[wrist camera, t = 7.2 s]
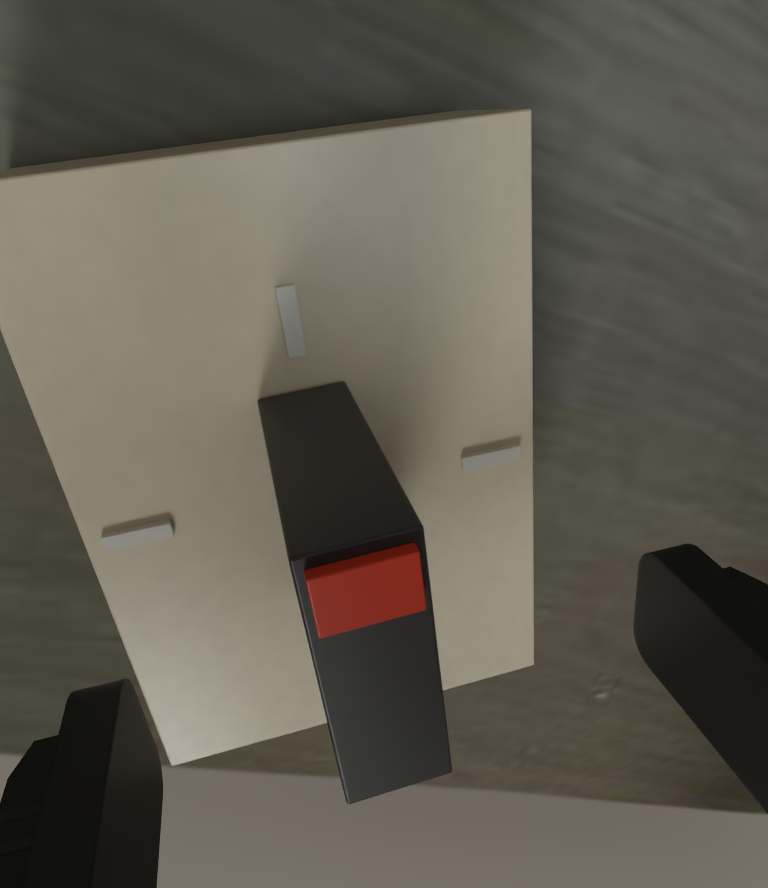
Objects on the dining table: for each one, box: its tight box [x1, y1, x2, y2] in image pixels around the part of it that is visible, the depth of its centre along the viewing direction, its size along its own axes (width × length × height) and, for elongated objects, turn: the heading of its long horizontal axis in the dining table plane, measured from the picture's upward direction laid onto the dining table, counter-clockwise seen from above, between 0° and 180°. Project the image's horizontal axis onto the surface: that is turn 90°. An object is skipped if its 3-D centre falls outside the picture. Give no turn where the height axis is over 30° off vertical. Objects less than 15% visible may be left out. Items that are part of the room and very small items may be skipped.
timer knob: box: [257, 381, 452, 804], centre depth 12 cm, size 5×2×6 cm, turn 7°
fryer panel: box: [0, 109, 534, 766], centre depth 16 cm, size 14×10×4 cm
